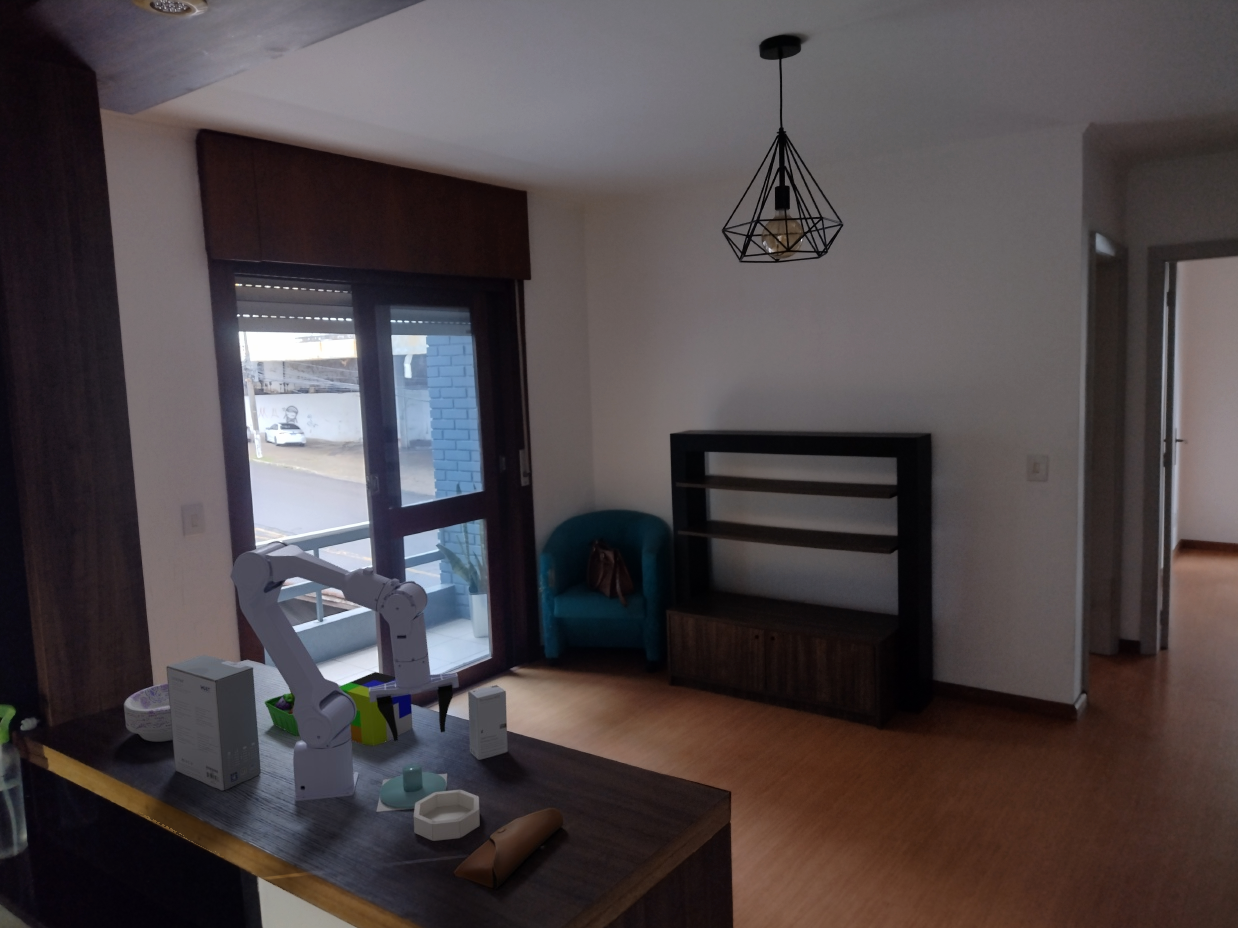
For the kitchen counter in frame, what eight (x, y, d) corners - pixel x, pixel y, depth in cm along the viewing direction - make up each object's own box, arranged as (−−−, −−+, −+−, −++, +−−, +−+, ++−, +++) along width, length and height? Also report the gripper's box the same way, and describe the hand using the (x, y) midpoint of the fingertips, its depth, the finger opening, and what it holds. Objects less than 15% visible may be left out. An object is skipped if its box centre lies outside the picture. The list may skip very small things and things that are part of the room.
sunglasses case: (518, 814, 139) (535, 785, 136) (551, 844, 136) (569, 815, 134) (449, 875, 123) (467, 843, 121) (485, 910, 120) (503, 878, 118)
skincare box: (478, 761, 158) (476, 698, 156) (469, 752, 161) (466, 690, 160) (509, 752, 161) (507, 690, 160) (498, 744, 165) (496, 683, 163)
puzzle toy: (412, 728, 173) (410, 680, 172) (373, 747, 164) (371, 697, 163) (377, 718, 178) (375, 671, 177) (338, 736, 170) (335, 687, 169)
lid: (376, 811, 140) (374, 787, 139) (383, 779, 151) (381, 756, 150) (445, 804, 142) (444, 780, 141) (447, 773, 153) (446, 750, 152)
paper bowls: (161, 754, 163) (158, 714, 162) (109, 740, 170) (106, 702, 169) (228, 723, 177) (226, 686, 176) (178, 711, 183) (175, 676, 182)
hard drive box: (263, 774, 154) (255, 667, 152) (223, 792, 148) (214, 681, 146) (212, 754, 163) (204, 652, 160) (172, 770, 156) (163, 665, 154)
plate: (376, 813, 140) (376, 811, 140) (383, 781, 151) (383, 779, 151) (445, 806, 142) (445, 804, 142) (447, 775, 153) (447, 773, 153)
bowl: (413, 844, 131) (412, 826, 130) (417, 811, 141) (416, 793, 140) (479, 837, 132) (479, 818, 132) (479, 804, 142) (478, 787, 142)
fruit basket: (264, 724, 176) (260, 671, 175) (304, 711, 183) (301, 659, 181) (292, 740, 168) (288, 684, 167) (333, 725, 175) (330, 671, 174)
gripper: (365, 671, 138) (375, 752, 139) (456, 656, 142) (465, 734, 143) (365, 657, 145) (374, 735, 146) (453, 643, 149) (460, 719, 150)
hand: (419, 734), depth 145 cm, fingers open, 7 cm apart
